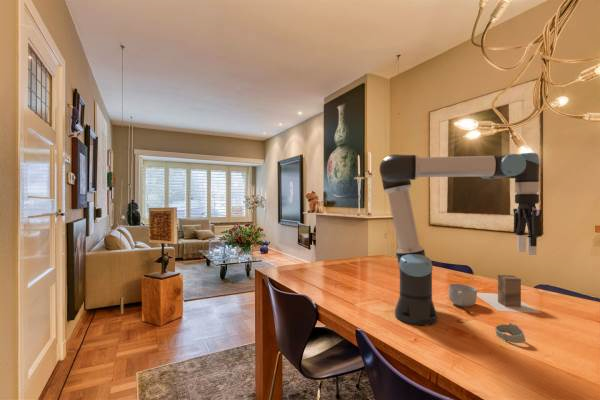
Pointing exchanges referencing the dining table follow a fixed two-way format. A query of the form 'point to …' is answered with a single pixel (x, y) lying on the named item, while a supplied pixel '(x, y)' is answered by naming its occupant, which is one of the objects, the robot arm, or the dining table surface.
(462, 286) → the teacup
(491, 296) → the mat
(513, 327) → the wristwatch
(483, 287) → the dining table surface
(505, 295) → the walnut block
